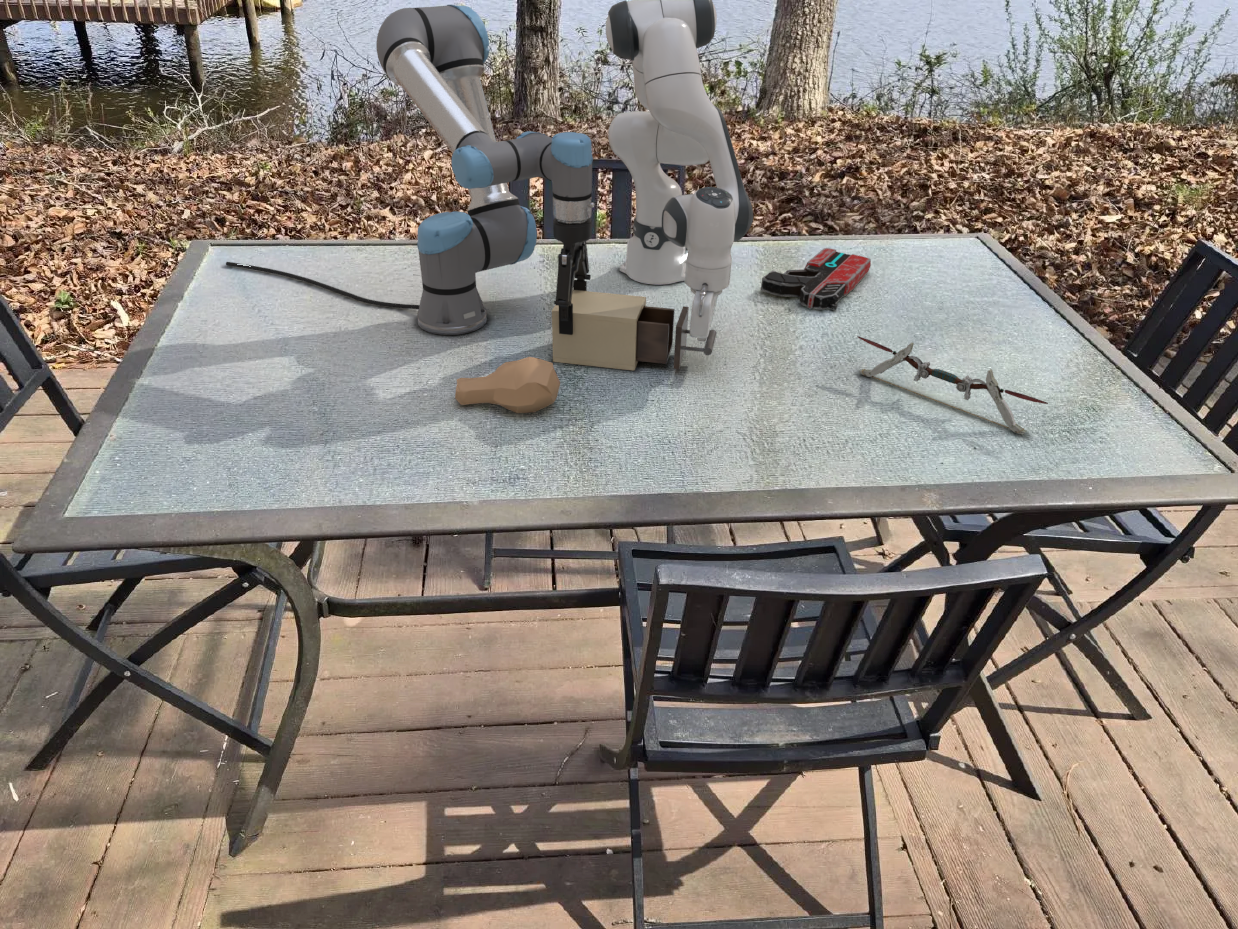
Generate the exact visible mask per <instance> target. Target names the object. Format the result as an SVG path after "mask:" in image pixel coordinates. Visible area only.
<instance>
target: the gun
mask: <svg viewBox="0 0 1238 929" xmlns="http://www.w3.org/2000/svg"><path fill="white" fill-rule="evenodd" d="M871 260H872V259H871V258H869V257H867V256H862V255H859V254H858V255H857V254H853V253H852V254H849V253H845V252H840V251H837V249H835V248H831V247H823V248H822V249H821V250H820V251H818V253H817V254H815V255H814V256H813V257H811V258H810V259H809V260H808V261H807V262H806V264H805V267H804V269H787V270H786V271H784V273H782V272H779V271H776V270H771V271H770V272H768V273H767V274H765V275H764V276H762V277H761V285H760V291H762V292H763V293H766V294H771V295H774V296H777V297H785V298H786V297H787V298H790V297H791V298H799V299H798V302H799V303H800V304H801V306H805V307H806V308H807V309H815V310H818V311H819V310H826V309H829V310H833V311H836V310H837V309H838V304H837V303H838V302H839V301H840V300H841V299H842V298H843V297H846V296H847V295H848V294H849V293H851V291H853V290H854V289H855V288H856V287H857V286H858V284H859V283H860V282H861V281H862V280H863V278H865V276H866V275H867V274H868V273H869V271H870V269H871V266H872V261H871Z"/></svg>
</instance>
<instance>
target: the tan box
mask: <svg viewBox="0 0 1238 929" xmlns="http://www.w3.org/2000/svg"><path fill="white" fill-rule="evenodd" d="M571 302H572V304H573V334H572V335H567V334H559V306H558V305H556V304H554V306H553V308H552V309H551V339H552V340H551V342H552V363H562V364H568V365H569V364H571V365H579V366H588V367H597V368H598V367H599V368H606V369H614V370H615V369H616V370H626V371H636V368H637V366H638V363H639V361H636V336H637V321H638V318H639V316H640V314H641V311H642V309H643V307H644V306H647V296H641V295H631V294H619V293H609V292H599V291H588V290H587V291H580V290H573V293H572V301H571Z"/></svg>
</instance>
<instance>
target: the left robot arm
mask: <svg viewBox="0 0 1238 929" xmlns="http://www.w3.org/2000/svg"><path fill="white" fill-rule="evenodd" d="M488 34H489V33H488V31H487V27H486V25H485V23H484V21H483V19H482V17H481V16H480V15H479V14H478V13H477V11H475V10H474V9H473V8H471V7H470V6H467V5H455V4H447V5H438V6H437V5H436V6H423V7H422V6H421V7H420V6H419V7H403V8H399V9H397V10H394V11H393V12H392V13H390V14H389V15H388V16H386V18H385V19H384V20H383V22H382V23H381V25H380V27H379V29H378V32H377V36H376V48H375V49H376V55H377V59H378V62H379V64H380V66H381V68H382V70H383V71H384V73H385V75H386V76H387V77H388V78H389V80H390V81H391V83H393V84H394V85H397V86H399V87H402V89H403V90H404V92H405V93H406V94H407V95H408V96H409V98H410V99H411V100H412V102H413V103H414V104H415V106H416V107H417V109H418V110H419V111H420V112H421V114H422V115H423V117H424V118H425V119H426V120H427V121H428V123H429V125H430V126H431V127H432V128H433V130H434V131H435V132H436V134H437V135H438V136H439V138H440V139H441V140H442V142H443V143H444V144H445V146H446V147H447V148H448V150H449V151H450V152H451V153H452V156H451V171H452V174H454V177H455V181H456V182H457V184H458V185H459V186H460V187H462V188H463V189H467V190H468V194H469V197H470V202H469V203H470V204H469V205H468V207H467V208H466V212H467V213H466V212H464V211H457V210H455V211H454V210H453V211H443V212H438V213H436V214H432V215H429V216H427V217H426V218H424V220H422V221H421V222H420V224H419V225H418V227H417V230H416V231H417V232H416V233H417V243H416V246H417V247H416V248H417V250H418V258H419V259H418V260H419V267H420V275H421V276H420V278H421V284H422V292H421V297H420V302H419V304H409V303H408V304H406V303H397V302H396V303H395V302H387V301H379V300H374V299H369V298H367V297H366V298H365V297H362V296H359V295H357V294H355V293H350V292H348V291H345V290H343V289H339V288H337V287H334V286H331V285H329V284H326V283H323V282H320V281H317V280H313V279H311V278H307V277H305V276H301V275H298V274H293V273H290V272H287V271H281V270H277V269H273V268H267V267H262V266H258V265H257V266H256V265H251V264H248V265H249V266H251V267H249V266H243V265H237V264H240V263H239V262H238V263H237V262H232V261H226V262H225V265H226V266H229V267H234V268H239V269H240V268H241V269H245V270H246V269H247V270H251V271H258V272H264V273H269V274H274V275H278V276H281V277H282V276H283V277H287V278H290V279H295V280H297V281H301V282H305V283H308V284H311V285H314V286H316V287H319V288H322V289H325V290H328V291H331V292H333V293H337V294H339V295H341V296H345V297H347V298H351V299H353V300H356V301H357V302H362V303H365V304H369V305H373V306H378V307H379V306H380V307H385V308H396V309H406V310H408V309H409V310H417V315H416V318H417V325H418V326H419V328H420V329H421V330H423V331H424V332H427V333H430V334H433V335H440V336H459V335H465V334H469V333H473V332H476V331H477V330H480V329H481V328H483V327H484V326H485V325H486V323H487V320H488V316H487V310H486V306H485V304H484V302H483V299H482V298H481V295H480V293H479V291H478V288H477V278H476V277H477V276H476V274H477V273H479V272H485V271H488V270H492V269H497V268H501V267H505V266H509V265H510V266H511V265H515V264H517V263H520V262H523V261H526V260H527V259H529V258H530V257H531V256H532V255H533V253H534V251H535V248H536V245H537V240H538V239H537V238H538V230H537V224H536V220H535V217H534V215H533V214H532V213H531V211H530V209H528V208H527V207H524V206H521V205H520V200H519V197H518V196H516V195H514V194H513V193H511V192H510V189H509V186H508V183H512V182H519V181H525V180H529V179H534V178H535V179H536V178H543V179H546V180H547V181H551V184H552V216H553V220H552V221H553V222H552V232H553V238H554V239H555V240H556V241H558V242H561V244H563V246H562V247H561V249H560V253H558V255H557V279H556V291H555V292H556V293H555V300H554V301H553V304H554V305H558V306H559V334H567V335H572V334H573V304H572V302H571V301H572V293H573V290H580V291H588V290H587V289H588V288H587V286H588V285H587V284H588V283H587V282H588V281H590V280H591V278H592V277H591V276H592V275H591V274H589V273H590V264H589V254H588V246H587V241H589V240H590V239H591V238H592V237H593V236H592V234H593V232H592V231H593V228H592V227H593V221H592V219H591V217H592V208H593V209H594V207H595V202H594V201H593V202H592V198H593V195H592V194H593V193H592V192H593V162H594V161H593V160H594V157H593V150H592V139H591V138H590V136H588V135H587V134H585V133H582V132H575V131H563V132H559V133H556V134H555V135H553V136H552V137H551V136H549V135H546V134H545V133H542V132H538V131H533V130H532V131H531V130H528V131H524V132H522V133H521V134H520V135H518V136H516V138H514V139H507V140H501V141H499V140H498V141H497V138H496V135H495V132H494V127H493V123H492V120H491V116H490V115H491V114H490V112H489V108H488V104H487V100H486V96H485V92H484V88H483V85H482V81H481V78H482V75H483V73H484V72H485V69H486V68H485V65H484V63H485V62H486V61H487V60H488V57H489V56H490V55H489V54H490V49H489V46H490V40H489V35H488Z"/></svg>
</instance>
